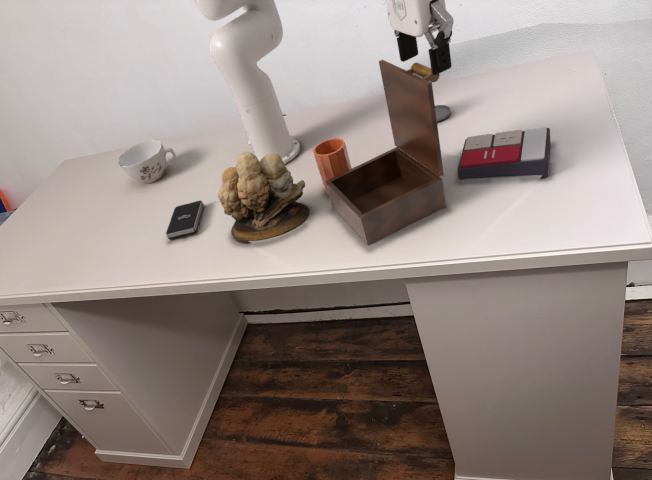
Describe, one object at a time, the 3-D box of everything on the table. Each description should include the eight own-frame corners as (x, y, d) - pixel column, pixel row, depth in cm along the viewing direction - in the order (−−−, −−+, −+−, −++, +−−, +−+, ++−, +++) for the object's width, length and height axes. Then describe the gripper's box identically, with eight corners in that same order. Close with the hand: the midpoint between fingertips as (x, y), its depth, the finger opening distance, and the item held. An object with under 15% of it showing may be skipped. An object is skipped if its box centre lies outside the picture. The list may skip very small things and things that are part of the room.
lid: (427, 84, 79) (456, 70, 79) (378, 61, 91) (403, 49, 91) (440, 177, 89) (465, 164, 90) (394, 145, 101) (417, 134, 102)
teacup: (127, 195, 139) (111, 170, 134) (138, 171, 148) (123, 146, 143) (178, 181, 136) (164, 154, 131) (186, 157, 145) (173, 131, 140)
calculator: (464, 134, 103) (549, 123, 96) (467, 153, 106) (550, 143, 98) (456, 166, 96) (547, 156, 89) (459, 185, 99) (548, 177, 92)
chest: (369, 249, 93) (360, 218, 88) (333, 210, 105) (324, 181, 101) (446, 210, 94) (442, 178, 90) (402, 176, 106) (396, 146, 102)
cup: (319, 193, 111) (306, 152, 105) (340, 177, 113) (329, 135, 107) (340, 200, 107) (328, 158, 100) (361, 183, 109) (351, 141, 102)
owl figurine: (313, 197, 111) (289, 124, 100) (316, 230, 102) (290, 153, 91) (234, 218, 114) (202, 150, 103) (230, 252, 106) (195, 181, 95)
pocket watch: (454, 108, 119) (450, 65, 113) (442, 128, 115) (437, 84, 108) (420, 109, 124) (414, 68, 117) (407, 128, 119) (400, 86, 113)
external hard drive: (205, 206, 122) (202, 199, 121) (197, 235, 114) (193, 228, 113) (178, 213, 124) (175, 206, 122) (168, 242, 116) (164, 235, 114)
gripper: (358, -47, 81) (379, 62, 92) (416, -39, 67) (433, 87, 78) (400, -66, 81) (417, 45, 92) (467, -63, 68) (477, 66, 79)
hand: (425, 64), depth 85 cm, fingers open, 9 cm apart
